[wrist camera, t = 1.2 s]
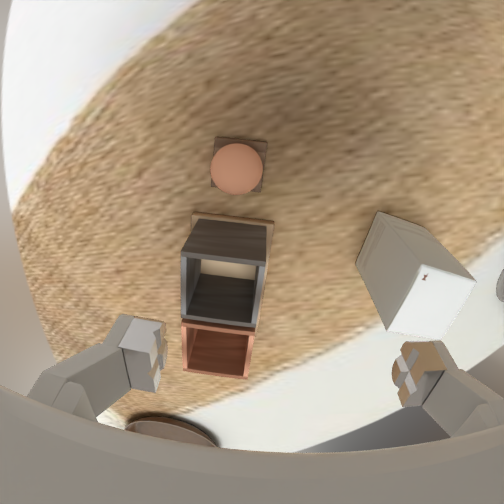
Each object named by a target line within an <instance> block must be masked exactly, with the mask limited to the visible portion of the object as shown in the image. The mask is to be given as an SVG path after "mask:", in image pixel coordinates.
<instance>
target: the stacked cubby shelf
mask: <svg viewBox="0 0 504 504" xmlns="http://www.w3.org/2000/svg"><path fill="white" fill-rule="evenodd" d="M273 230H274V221H267V220H259V219H251V218H243V217H235V216H226V215H217V214H208V213H199V212H193V214H192V220H191V233H190V235H189V237H188V239H187V241H186V243H185V245H184V247H183V248H182V250H181V318H183V319H182V322H181V330H182V358H183V371H188V372H194V373H201V374H207V375H215V376H222V377H230V378H238V379H247V378H248V372H249V366H250V360H251V354H252V348H253V342H254V336H255V337H256V336H257V330H258V324H259V318H260V312H261V305H262V299H263V293H264V287H265V281H266V275H267V268H268V262H269V256H270V249H271V243H272V236H273Z"/></svg>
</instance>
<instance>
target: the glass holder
mask: <svg viewBox="0 0 504 504" xmlns="http://www.w3.org/2000/svg"><path fill="white" fill-rule="evenodd" d="M496 293H497V297H498V298H499V300H501V301H502V302H504V269H503V271H502V273H501V275H500V277H499V279H498V283H497V287H496Z"/></svg>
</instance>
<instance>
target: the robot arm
mask: <svg viewBox="0 0 504 504" xmlns="http://www.w3.org/2000/svg"><path fill="white" fill-rule="evenodd" d="M165 334H166V323H165V322H164V321H160V320H154V319H149V318H143V317H138V316H132V315H127V314H121V315H119V317H118V318H117V320H116V322H115V323H114V325H113V326H112V328H111V330H110V331H109V333H108V335H107V337H106V338H105V340H104V342H103V343H102V344H100V343H98V344H96V345H94V346H92V347H90V348H88V349H86V350H84V351H82V352H80V353H78V354H76V355H74V356H72V357H70V358H68V359H66V360H64V361H62V362H60V363H58V364H56V365H54V366H52V367H50V368H48V369H46V370H44V371H43V372H42V373H41V375H40V377H39V378H38V380H37V381H36V383H35V384H34V386H33V388H32V389H31V391H30V392H29V394H28V396H27V397H26V396H23V395H21V394H19V393H17V392H14V391H12V390H10V389H8V388H6V387H3V386H1V385H0V504H504V399H503V398H502V397H501V396H499V395H498V394H496V393H495V392H494V391H492V390H491V389H489V388H488V387H487V386H485V385H484V384H482V383H481V382H479V381H478V380H476V379H475V378H474V377H472V376H471V375H469V374H468V373H467V372H465V371H464V370H462V369H458V367H457V365H456V363H455V362H454V360H453V358H452V357H451V355H450V353H449V351H448V350H447V348H446V346H445V345H444V343H443V342H442V341H406V342H405V343H404V344H403V346H402V348H401V354H402V355H400V356H399V357H398V358H397V359H396V360H395V362H394V364H393V367H392V379H393V382H394V384H395V385H396V386H397V387H398V388H399V391H398V396H399V399H400V401H401V404H402V407H409V406H422V408H423V409H424V410H425V411H426V412H427V413H428V414H429V415H430V416H431V417H432V418H433V419H434V420H435V421H436V422H437V423H438V424H439V425H440V426H441V427H442V428H443V429H444V430H445V431H446V432H447V433H448V435H449V436H450V437H451V438H449V439H444V440H439V441H433V442H428V443H422V444H416V445H410V446H403V447H396V448H387V449H378V450H368V451H355V452H337V453H335V452H334V453H281V452H261V451H247V450H236V449H226V448H218V447H210V446H203V445H196V444H190V443H183V442H178V441H172V440H167V439H162V438H157V437H152V436H148V435H143V434H139V433H135V432H130V431H126V430H123V429H119V428H115V427H111V426H108V425H104V424H101V423H98V421H97V419H96V417H97V416H98V415H100V414H101V413H102V412H103V411H105V410H106V409H107V408H108V407H110V406H111V405H112V404H113V403H115V402H116V401H117V400H119V399H120V398H121V397H122V396H124V395H125V394H126V393H127V392H129V391H130V390H131V388H132V389H137V390H143V391H148V392H154V393H156V390H157V387H158V384H159V381H160V378H161V377H160V370H162V369H164V366H165V363H166V359H167V350H168V345H167V341H166V339H165V338H164V336H165Z"/></svg>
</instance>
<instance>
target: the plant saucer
mask: <svg viewBox="0 0 504 504" xmlns="http://www.w3.org/2000/svg"><path fill="white" fill-rule="evenodd" d="M124 430H126V431H130V432H135V433H139V434H143V435H148V436H152V437H157V438H162V439H167V440H172V441H178V442H183V443H190V444H196V445H203V446H210V447H217V446H216V445H215V443H214V442H213V441H212V440H211V438H210V437H209V436H207V435H206V434H205V433H204V432H203V431H201V430H200V429H198V428H196V427H194V426H192V425H190V424H188V423H185V422H182V421H179V420H176V419H172V418H166V417H145V418H141V419H138V420H135V421H133V422H131V423H130V424H128V425H127V426H126V427H125V429H124Z"/></svg>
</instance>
